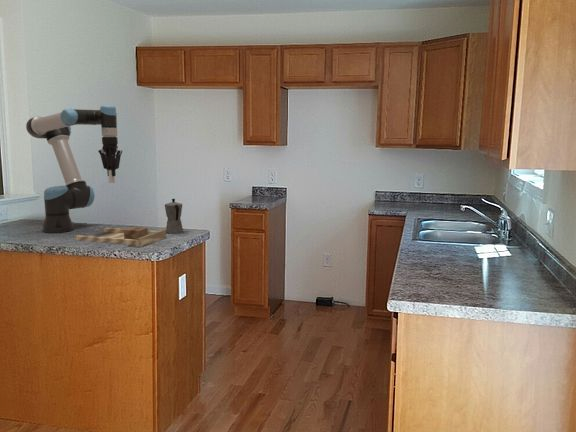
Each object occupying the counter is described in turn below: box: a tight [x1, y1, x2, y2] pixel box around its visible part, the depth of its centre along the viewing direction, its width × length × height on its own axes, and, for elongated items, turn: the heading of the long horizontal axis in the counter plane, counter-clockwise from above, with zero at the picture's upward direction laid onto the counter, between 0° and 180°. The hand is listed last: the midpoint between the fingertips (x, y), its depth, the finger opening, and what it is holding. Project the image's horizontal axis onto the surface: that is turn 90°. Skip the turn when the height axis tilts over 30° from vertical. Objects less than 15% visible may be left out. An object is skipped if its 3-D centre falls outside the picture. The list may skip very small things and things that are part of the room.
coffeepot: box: [164, 198, 184, 235], centre depth 279 cm, size 15×9×18 cm, turn 25°
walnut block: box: [124, 226, 148, 240], centre depth 259 cm, size 8×8×5 cm
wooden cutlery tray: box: [74, 227, 167, 248], centre depth 262 cm, size 36×23×4 cm, turn 73°
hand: (111, 182), depth 275 cm, fingers closed
